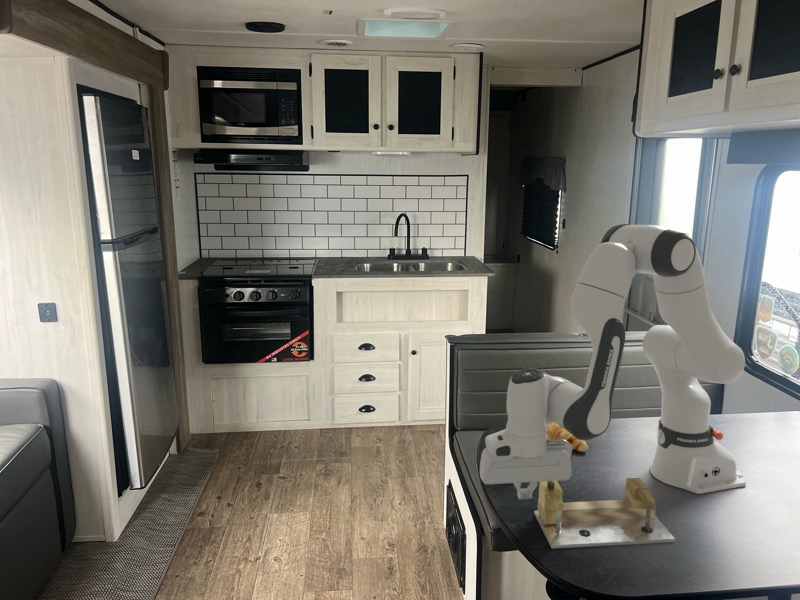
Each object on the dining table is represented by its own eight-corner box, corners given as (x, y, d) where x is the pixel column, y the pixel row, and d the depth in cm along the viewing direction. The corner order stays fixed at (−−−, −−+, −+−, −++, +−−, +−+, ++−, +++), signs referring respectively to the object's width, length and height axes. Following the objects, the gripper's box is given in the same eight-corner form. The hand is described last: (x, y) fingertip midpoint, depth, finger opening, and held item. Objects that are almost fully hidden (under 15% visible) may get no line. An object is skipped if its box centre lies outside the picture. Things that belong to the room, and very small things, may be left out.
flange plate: (646, 508, 139) (646, 504, 139) (674, 541, 127) (675, 538, 127) (534, 513, 138) (534, 510, 138) (551, 548, 125) (551, 544, 125)
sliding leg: (554, 510, 137) (556, 476, 135) (568, 535, 128) (570, 499, 126) (537, 511, 137) (539, 477, 135) (550, 536, 128) (552, 500, 126)
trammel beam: (647, 508, 138) (649, 477, 136) (666, 531, 129) (669, 499, 127) (538, 513, 137) (539, 482, 135) (550, 538, 128) (551, 504, 126)
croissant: (592, 462, 169) (601, 435, 169) (575, 457, 162) (584, 429, 163) (532, 436, 185) (541, 412, 185) (515, 430, 178) (524, 405, 179)
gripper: (567, 432, 134) (565, 487, 137) (478, 437, 133) (477, 492, 136) (577, 445, 128) (574, 502, 131) (483, 450, 126) (483, 507, 130)
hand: (524, 497), depth 133 cm, fingers closed
